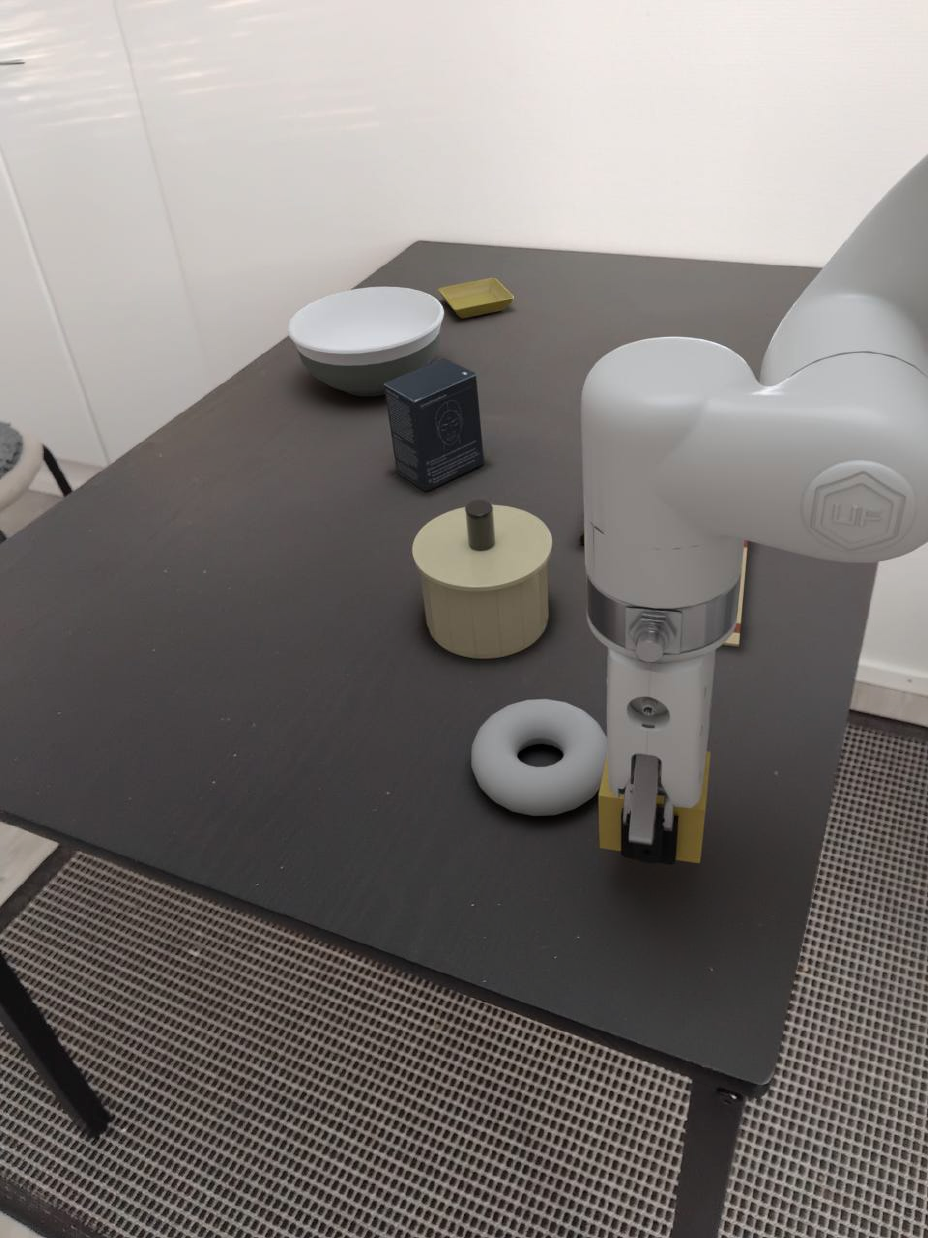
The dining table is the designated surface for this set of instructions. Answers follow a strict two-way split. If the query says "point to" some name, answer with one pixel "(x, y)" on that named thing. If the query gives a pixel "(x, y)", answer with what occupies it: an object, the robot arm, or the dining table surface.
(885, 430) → the robot arm
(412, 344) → the bowl
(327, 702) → the dining table surface
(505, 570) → the pot lid
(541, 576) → the pot
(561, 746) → the donut
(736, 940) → the dining table surface
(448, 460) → the box
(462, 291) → the yellow tray
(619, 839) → the cheese
